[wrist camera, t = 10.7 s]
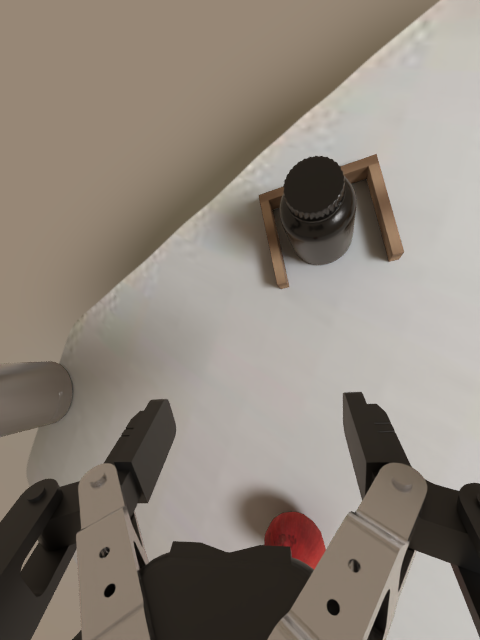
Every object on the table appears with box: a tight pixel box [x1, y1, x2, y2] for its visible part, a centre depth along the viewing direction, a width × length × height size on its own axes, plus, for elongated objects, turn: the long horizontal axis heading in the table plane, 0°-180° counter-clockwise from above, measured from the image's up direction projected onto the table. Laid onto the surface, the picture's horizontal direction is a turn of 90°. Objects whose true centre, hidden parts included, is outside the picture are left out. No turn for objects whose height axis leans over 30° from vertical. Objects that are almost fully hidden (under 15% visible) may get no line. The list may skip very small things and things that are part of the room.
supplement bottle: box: [279, 156, 356, 265], centre depth 29 cm, size 7×7×12 cm
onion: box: [265, 512, 326, 569], centre depth 29 cm, size 6×6×8 cm
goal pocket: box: [259, 154, 404, 289], centre depth 33 cm, size 11×13×2 cm
